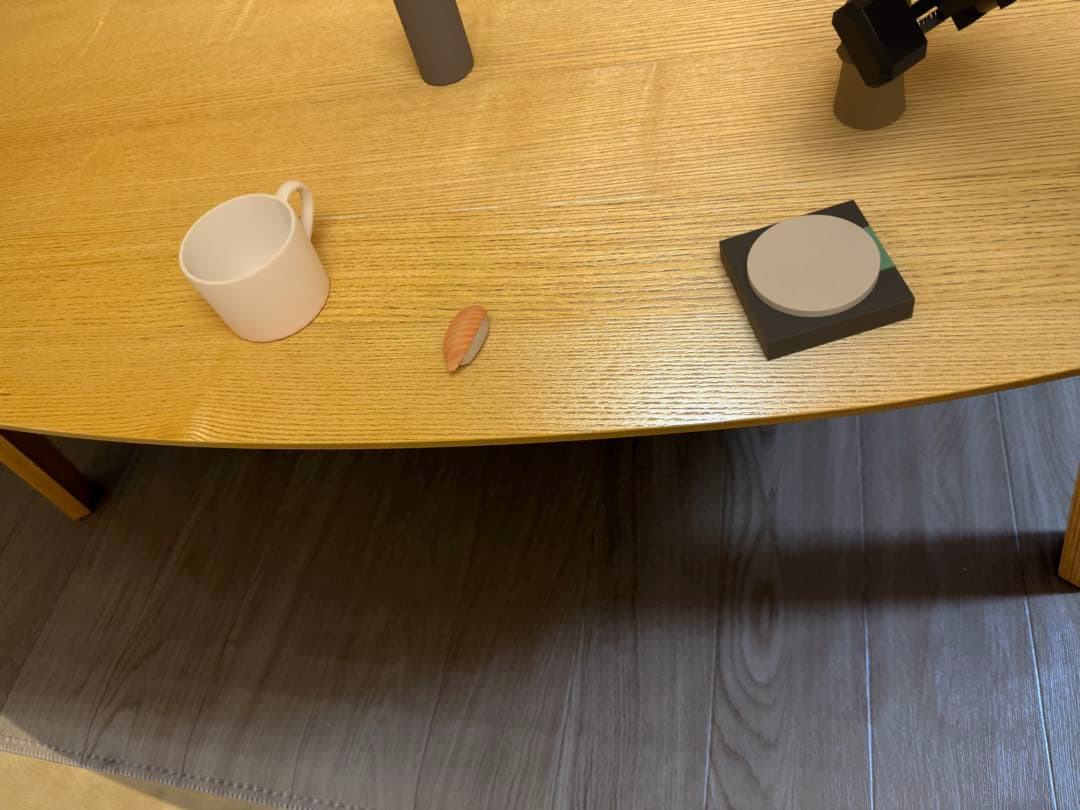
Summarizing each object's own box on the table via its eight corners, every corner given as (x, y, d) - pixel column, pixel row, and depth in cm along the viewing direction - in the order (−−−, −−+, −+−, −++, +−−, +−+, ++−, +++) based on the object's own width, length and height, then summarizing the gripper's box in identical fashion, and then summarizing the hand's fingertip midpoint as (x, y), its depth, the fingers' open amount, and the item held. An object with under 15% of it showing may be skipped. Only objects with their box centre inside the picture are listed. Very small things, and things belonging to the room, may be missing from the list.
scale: (852, 218, 76) (854, 191, 73) (912, 317, 69) (916, 290, 67) (720, 259, 76) (718, 233, 74) (767, 361, 70) (767, 336, 67)
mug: (283, 362, 80) (239, 300, 74) (201, 325, 85) (152, 264, 78) (376, 252, 85) (342, 186, 79) (293, 223, 90) (255, 159, 84)
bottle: (412, 84, 99) (360, -51, 87) (435, 49, 102) (388, -87, 90) (460, 88, 97) (414, -50, 85) (483, 52, 99) (441, -87, 87)
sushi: (498, 319, 78) (489, 296, 75) (469, 381, 75) (458, 359, 72) (470, 315, 79) (460, 291, 76) (439, 376, 76) (428, 353, 73)
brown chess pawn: (910, 85, 83) (924, -31, 74) (900, 131, 80) (914, 16, 71) (839, 82, 85) (845, -31, 76) (827, 127, 82) (832, 15, 73)
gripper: (1073, -242, 61) (918, -121, 76) (861, -107, 57) (743, -7, 72) (1148, -85, 63) (982, 3, 78) (947, 55, 59) (814, 119, 74)
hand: (882, 26), depth 76 cm, fingers open, 9 cm apart
